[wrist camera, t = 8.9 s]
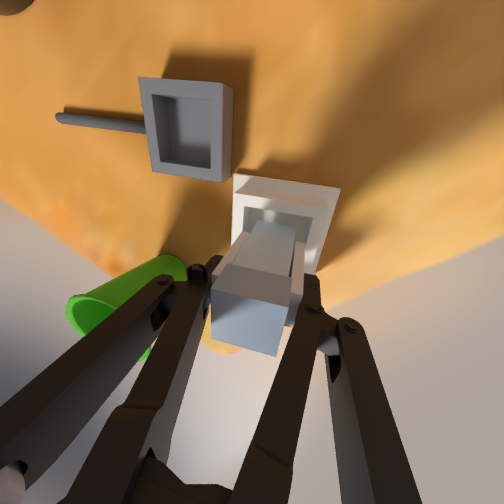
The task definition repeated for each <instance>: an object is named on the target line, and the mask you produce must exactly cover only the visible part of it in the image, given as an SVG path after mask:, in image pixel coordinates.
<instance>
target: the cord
mask: <svg viewBox="0 0 504 504" xmlns="http://www.w3.org/2000/svg"><path fill="white" fill-rule="evenodd" d="M55 118H56V120H57V121H58V122H60V123H62V124H68V125H77V126H85V127H93V128H101V129H110V130H118V131H126V132H134V133H142V134H146V127H145V122H141V121H132V120H123V119H114V118H105V117H96V116H87V115H78V114H69V113H60V112H59V113H56V115H55Z"/></svg>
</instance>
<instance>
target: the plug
mask: <svg viewBox="0 0 504 504" xmlns="http://www.w3.org/2000/svg"><path fill="white" fill-rule="evenodd" d="M295 230H296V227H294V226H289V225H283V224H278V223H272V222H266V221H261V220H258V222H257V223H256V225H255V227H254V228H253V230H252V232H251V233H250V235H249V237H248V238H247V240H246V242H245V243H244V245H243V246H242V248H241V250H240V251H239V253H238V255H237V256H236V258H235V260H234V261H233V263H232V264H228V263H227V264H226V266H225V267H224V269H223V270H222V272H221V273H220V275H219V276H218V278H217V280H216V281H215V283H214V284H213V286H212V287H211V339H215V340H218V341H222V342H225V343H229V344H232V345H236V346H239V347H243V348H246V349H250V350H253V351H257V352H260V353H264V354H268V355H271V356H274V357H276V354H277V351H278V347H279V343H280V340H281V336H282V332H283V328H284V324H285V320H286V316H287V313H288V309H289V302H290V293H291V285H292V277H289V271H290V264H291V257H292V250H293V243H294V236H295Z"/></svg>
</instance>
